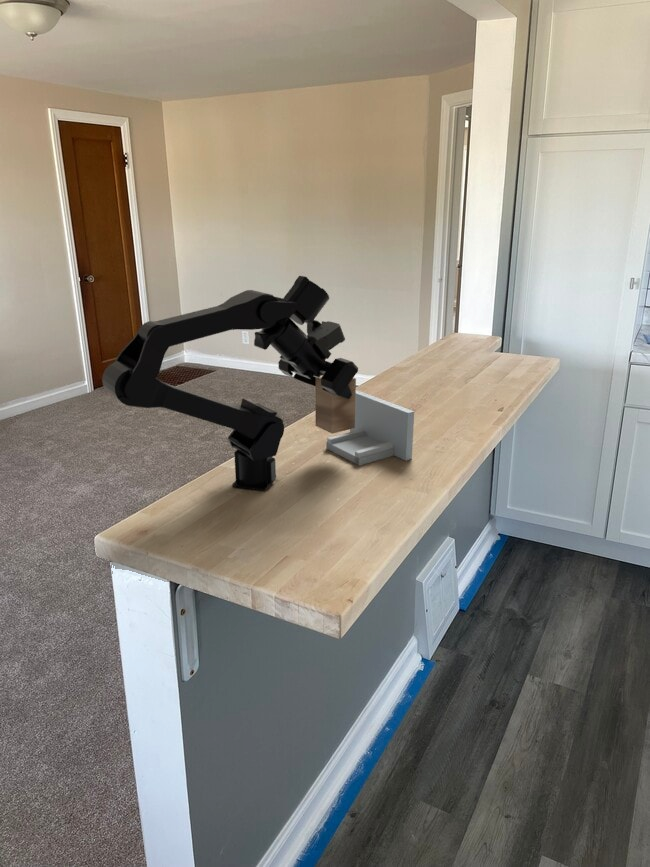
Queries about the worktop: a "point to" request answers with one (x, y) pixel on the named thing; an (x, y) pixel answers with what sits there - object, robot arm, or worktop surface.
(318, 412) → the walnut cabinet block
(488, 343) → the worktop surface
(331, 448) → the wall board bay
